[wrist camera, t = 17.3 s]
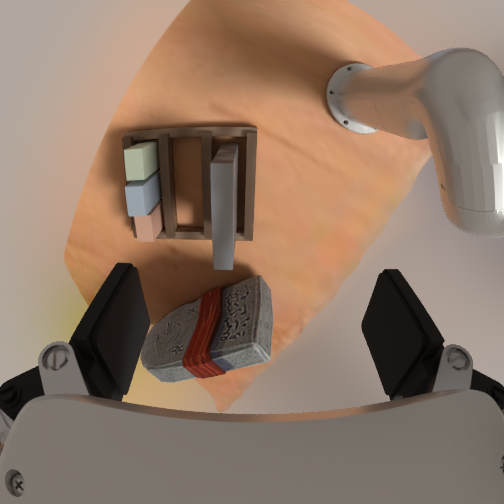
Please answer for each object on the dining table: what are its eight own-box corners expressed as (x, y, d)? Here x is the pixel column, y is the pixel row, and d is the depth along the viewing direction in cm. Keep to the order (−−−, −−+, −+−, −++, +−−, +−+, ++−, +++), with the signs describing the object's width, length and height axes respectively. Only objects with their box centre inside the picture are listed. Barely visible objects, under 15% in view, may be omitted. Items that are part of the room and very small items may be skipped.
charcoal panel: (238, 143, 43) (232, 163, 29) (237, 220, 50) (232, 270, 37) (223, 143, 43) (210, 163, 29) (223, 220, 50) (213, 269, 36)
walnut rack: (256, 126, 42) (257, 128, 39) (252, 235, 52) (252, 243, 49) (129, 131, 41) (122, 133, 39) (139, 233, 51) (134, 241, 49)
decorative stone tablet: (254, 343, 38) (125, 374, 48) (275, 366, 41) (147, 391, 51) (260, 264, 54) (153, 310, 64) (276, 287, 57) (169, 327, 67)
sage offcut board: (158, 140, 42) (142, 148, 36) (160, 167, 45) (144, 179, 38) (142, 141, 42) (123, 150, 36) (144, 167, 45) (126, 180, 38)
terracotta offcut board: (162, 200, 48) (150, 215, 42) (164, 223, 50) (154, 241, 44) (147, 200, 48) (133, 215, 42) (150, 223, 50) (138, 241, 44)
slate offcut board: (160, 170, 45) (142, 186, 37) (162, 196, 48) (146, 216, 40) (144, 171, 45) (124, 187, 37) (147, 196, 48) (128, 216, 40)
